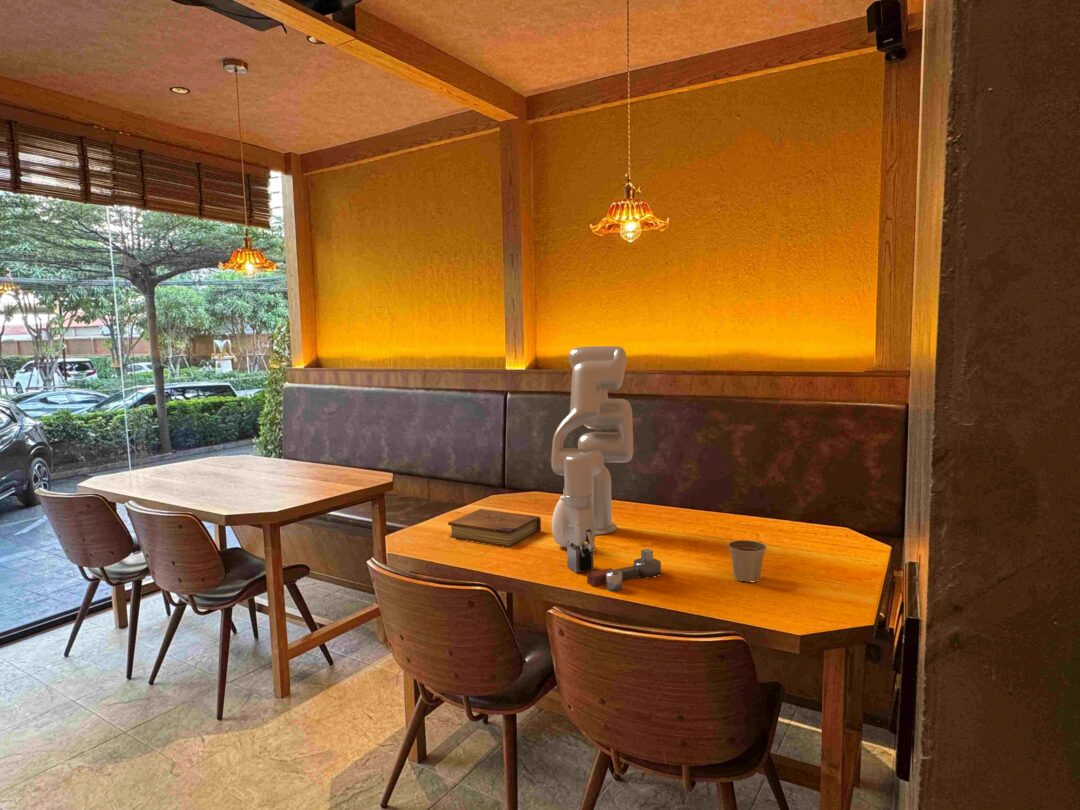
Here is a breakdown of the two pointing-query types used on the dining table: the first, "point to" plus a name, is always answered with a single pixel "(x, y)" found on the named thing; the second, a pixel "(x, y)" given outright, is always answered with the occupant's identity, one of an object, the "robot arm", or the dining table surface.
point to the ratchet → (630, 569)
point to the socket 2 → (614, 581)
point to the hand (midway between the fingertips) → (580, 565)
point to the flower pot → (747, 559)
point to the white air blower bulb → (559, 522)
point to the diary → (495, 527)
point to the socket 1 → (576, 558)
